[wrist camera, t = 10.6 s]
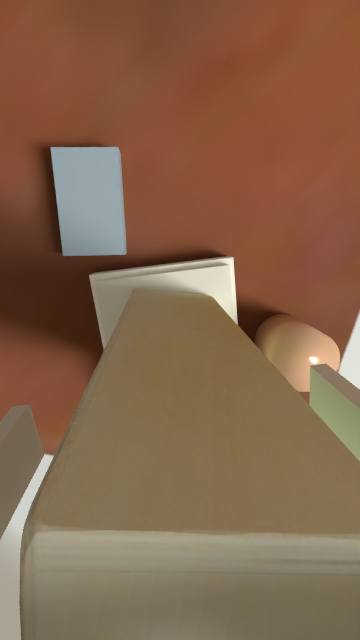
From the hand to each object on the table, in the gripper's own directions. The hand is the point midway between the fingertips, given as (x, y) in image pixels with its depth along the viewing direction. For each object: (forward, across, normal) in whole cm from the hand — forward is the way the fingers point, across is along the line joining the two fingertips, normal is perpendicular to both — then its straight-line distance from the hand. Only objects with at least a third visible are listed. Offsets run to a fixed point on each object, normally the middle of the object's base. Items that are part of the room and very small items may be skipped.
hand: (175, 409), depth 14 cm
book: (+15, -5, +11) cm, 19 cm away
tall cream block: (+12, 0, -1) cm, 12 cm away
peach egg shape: (+15, +11, -3) cm, 18 cm away
